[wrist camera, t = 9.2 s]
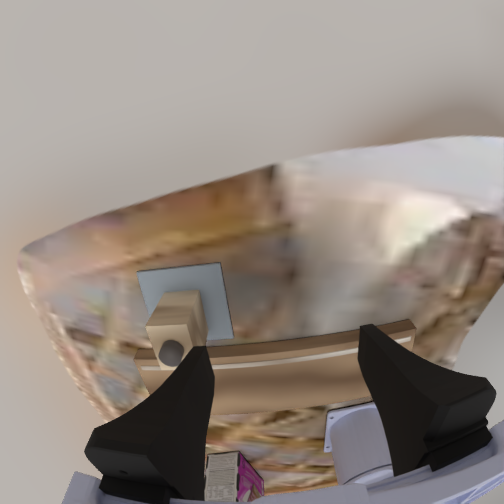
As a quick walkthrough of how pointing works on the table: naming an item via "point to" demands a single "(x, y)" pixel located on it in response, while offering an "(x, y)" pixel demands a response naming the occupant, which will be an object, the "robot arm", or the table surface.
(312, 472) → the table surface
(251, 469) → the candy bar box
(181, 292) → the block
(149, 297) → the slate mat
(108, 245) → the table surface
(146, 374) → the walnut board
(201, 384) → the robot arm
